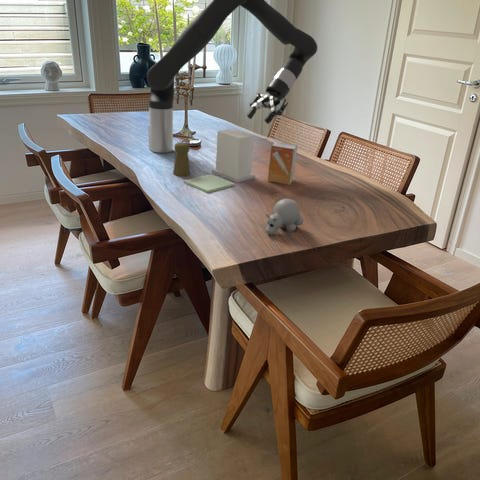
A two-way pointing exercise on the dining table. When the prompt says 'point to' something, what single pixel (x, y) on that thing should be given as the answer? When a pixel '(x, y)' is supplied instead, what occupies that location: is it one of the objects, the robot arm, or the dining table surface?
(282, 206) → the round bodied animal figurine
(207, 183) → the plate
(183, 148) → the cork
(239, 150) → the housing
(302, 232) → the dining table surface
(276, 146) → the small box
